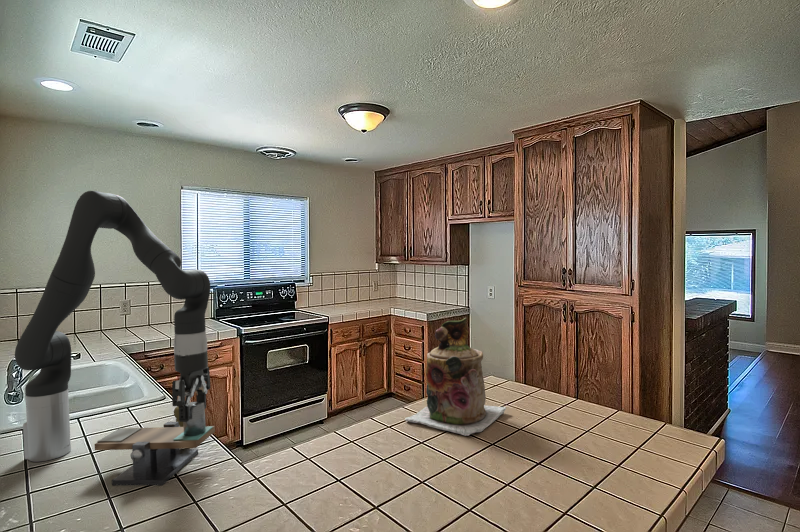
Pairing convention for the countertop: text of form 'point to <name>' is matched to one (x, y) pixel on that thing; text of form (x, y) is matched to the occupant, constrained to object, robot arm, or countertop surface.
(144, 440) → the beam
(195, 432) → the cylinder
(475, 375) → the cookie jar
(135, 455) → the seesaw stand
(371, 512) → the countertop surface
